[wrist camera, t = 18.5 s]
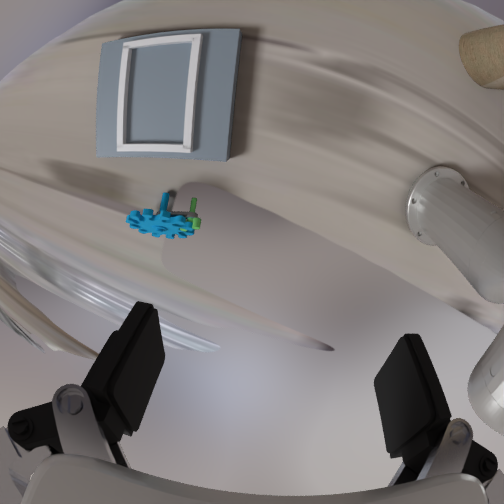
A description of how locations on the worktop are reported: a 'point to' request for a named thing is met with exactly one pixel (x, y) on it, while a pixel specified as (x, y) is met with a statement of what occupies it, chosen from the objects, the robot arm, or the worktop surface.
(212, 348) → the worktop surface
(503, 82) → the tube
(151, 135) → the plate
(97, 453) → the robot arm
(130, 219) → the blue cogwheel with peg
